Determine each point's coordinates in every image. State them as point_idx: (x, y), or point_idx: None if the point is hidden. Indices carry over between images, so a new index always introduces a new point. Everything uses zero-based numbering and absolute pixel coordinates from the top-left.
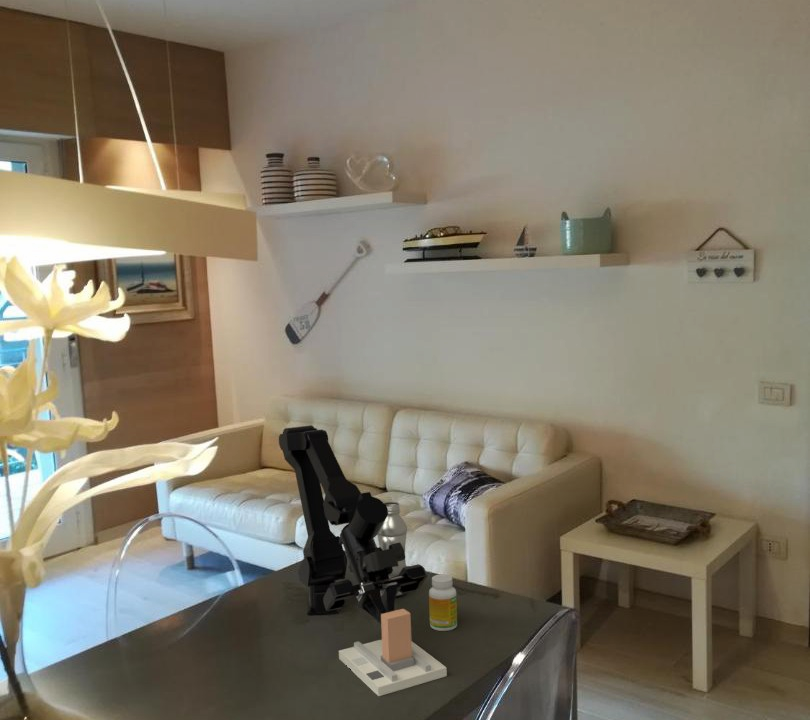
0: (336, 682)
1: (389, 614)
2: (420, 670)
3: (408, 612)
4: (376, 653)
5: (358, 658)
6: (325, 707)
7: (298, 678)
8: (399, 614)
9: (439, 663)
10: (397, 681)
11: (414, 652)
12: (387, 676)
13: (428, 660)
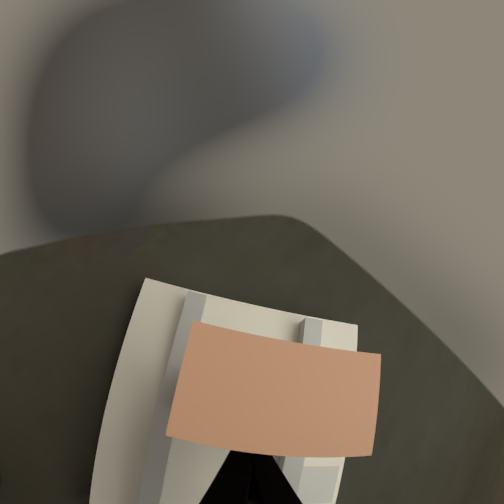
0: (385, 449)
1: (332, 415)
2: (209, 321)
3: (191, 344)
4: None
5: (310, 501)
6: (437, 360)
7: (424, 496)
8: (272, 367)
9: (138, 309)
10: (303, 317)
11: (160, 394)
12: None
13: (145, 347)
